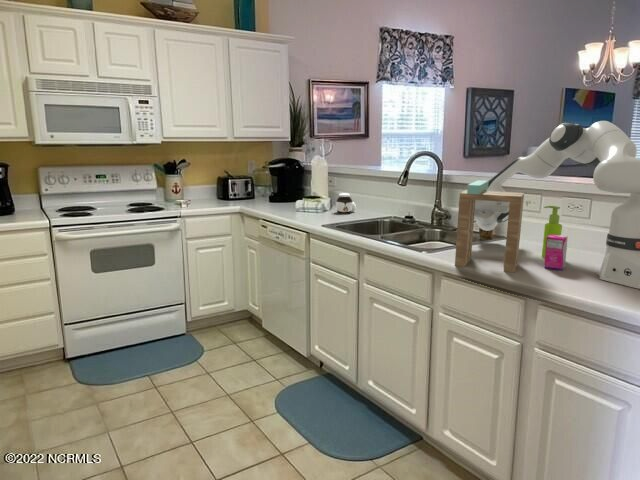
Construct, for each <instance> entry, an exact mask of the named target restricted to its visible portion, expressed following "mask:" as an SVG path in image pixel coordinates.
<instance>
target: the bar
mask: <svg viewBox="0 0 640 480" xmlns="http://www.w3.org/2000/svg"><path fill="white" fill-rule="evenodd" d="M488 183H489V180H479V179H477V180H475V181H473V182H471V183H468V184H467V188H466V190H467V194H480V193H482V192H483V191H485V190H487V189H488Z"/></svg>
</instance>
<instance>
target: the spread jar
mask: <svg viewBox="0 0 640 480" xmlns="http://www.w3.org/2000/svg"><path fill="white" fill-rule="evenodd" d="M335 208H336V212H337V213H338V214H344V215H345V214H346V215H347V214H350V213H353V212H355V211H356V210H357V205H356V203H355V202H354V201H353V199H352V197H351V194H350V193H347V192H346V193H345V192H343V193H339V194H338V198H337V199H336V201H335Z"/></svg>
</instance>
